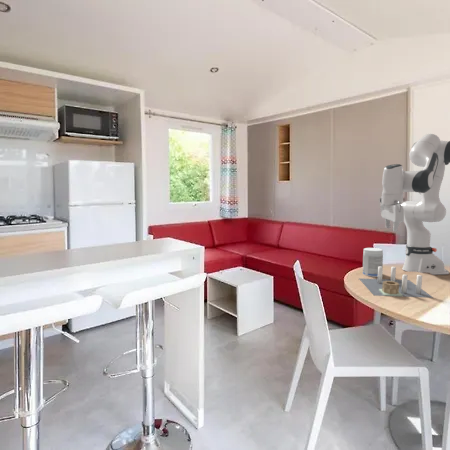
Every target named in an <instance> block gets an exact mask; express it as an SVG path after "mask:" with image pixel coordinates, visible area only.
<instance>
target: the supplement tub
mask: <svg viewBox="0 0 450 450" xmlns="http://www.w3.org/2000/svg"><path fill="white" fill-rule="evenodd" d="M383 251H384V250H383V249H382V248H379V247H377V248H376V247H365V248H363V254H362V275H364V276H366V277H367V276H368V277H373V278H378V267H379V266H381V267H383V264H384V263H383V262H384V252H383ZM383 268H384V267H383Z"/></svg>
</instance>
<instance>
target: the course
mask: <svg viewBox="0 0 450 450" xmlns="http://www.w3.org/2000/svg"><path fill="white" fill-rule="evenodd" d="M383 268H384V267H381V266H379V267H378V277H377V278H359V277H358V281H359V280H360V282H361V283H362V285H363V286H364V287H365V288H367V290H368V291H369V293H371V294H372V295H373V296H374V297H375V296H376V297H385V296H384V295H383V294H382V293H381V292H380V291H379V289H382V287H383V282H384V281H393V282H397V283H398V284H399V292H400V293H401V294H402V295H403V296H398V297H399V298H400V297H405V298H427V299H428V298H429V299H431V298H432V299H433V298H434V296H432V295H431V294H429V293H427V292H426V291H425V290H423V288H422V287H423V286H422V285H423V275H421V274H417V275H416V284H415V283H414V282H412V281H411V280H410V279H408V274H402V277H401V279H396V275H397V274H396V273H397V266H391V268H390V279H387V278H385V279H384V278H383V272H384V271H383V270H384V269H383Z"/></svg>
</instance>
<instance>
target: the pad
mask: <svg viewBox="0 0 450 450" xmlns="http://www.w3.org/2000/svg"><path fill="white" fill-rule="evenodd" d="M379 291H380V292H381V293H382V294H383V295H384V296H383V297H399V296H403V295H402V294H401V293H400V292H399V293H397V294H388V293H384V292H383V291H382V289H379Z"/></svg>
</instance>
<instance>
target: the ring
mask: <svg viewBox="0 0 450 450" xmlns="http://www.w3.org/2000/svg"><path fill="white" fill-rule="evenodd" d="M382 291H383V292H384V293H388V294H397V293H399V284H398V283H397V282H393V281H384V282H383V287H382Z"/></svg>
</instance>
